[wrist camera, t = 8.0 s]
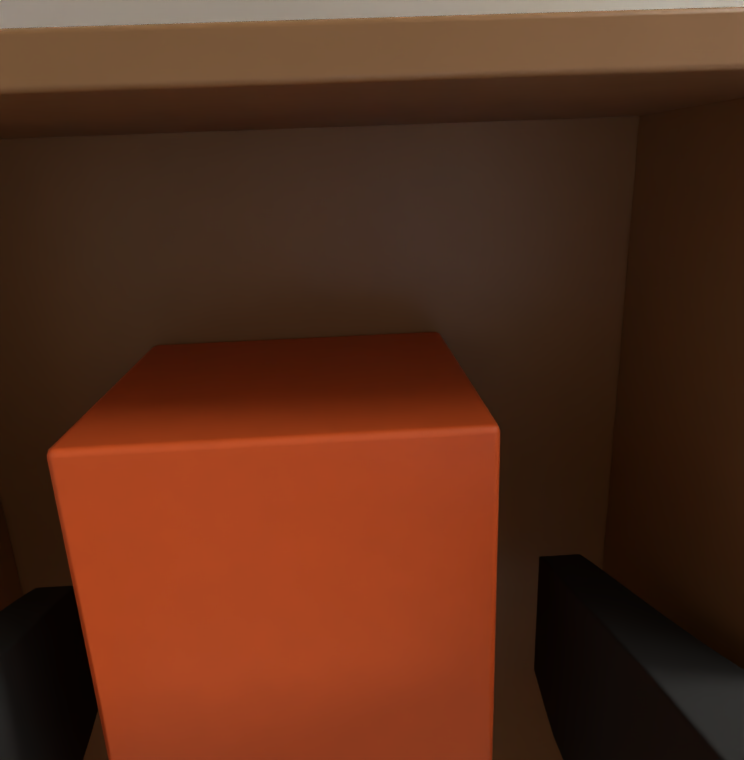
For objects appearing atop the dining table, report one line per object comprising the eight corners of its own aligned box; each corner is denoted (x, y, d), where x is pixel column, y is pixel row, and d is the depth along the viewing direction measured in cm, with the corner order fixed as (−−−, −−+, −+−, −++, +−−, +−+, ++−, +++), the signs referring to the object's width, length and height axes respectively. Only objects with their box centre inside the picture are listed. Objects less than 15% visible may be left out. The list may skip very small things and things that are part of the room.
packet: (439, 330, 10) (502, 425, 6) (441, 736, 13) (488, 980, 9) (152, 343, 10) (41, 450, 6) (210, 753, 12) (156, 1009, 9)
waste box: (590, 835, 14) (735, 1212, 9) (80, 876, 14) (-70, 1295, 9) (655, 88, 10) (1016, -3, 5) (-100, 114, 9) (-642, 44, 4)
